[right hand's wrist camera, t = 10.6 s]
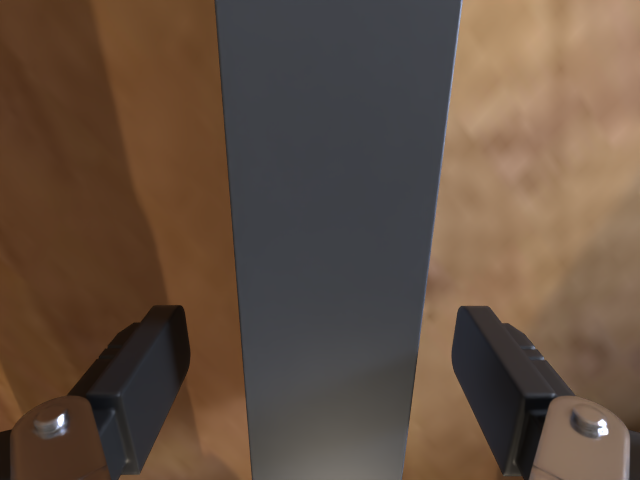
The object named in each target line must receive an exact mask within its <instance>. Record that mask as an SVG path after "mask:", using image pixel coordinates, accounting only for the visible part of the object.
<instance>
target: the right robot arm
mask: <svg viewBox="0 0 640 480" xmlns="http://www.w3.org/2000/svg"><path fill="white" fill-rule="evenodd" d="M189 364H190V345H189V338H188V331H187V325H186V318H185V312H184V309H183V307H182V306H181V305H155V306H153V307H152V308H151V309H150V311H149V312H148V313H147V315H146V316H145V317H144V319H143V320H142V321H141V323H133V324H131V325H130V326H128V327H127V328H125V329H124V330H122V331H121V332H119V333H118V334H117V335H116V336H115V338H114V339H113V340H112V341H111V342H110V344H109V345H108V348H106V349H105V350H104V351H103V352H102V353H101V355H100V356H99V359H96V361H95V362H94V363H93V364H92V366H91V367H90V368H89V369H88V370H87V372H86V373H85V374H84V375H83V376H82V378H81V379H80V380H79V381H78V383H77V384H76V385H75V386H74V387H73V389H72V390H71V391H70V392H69V393H68V395H67V396H63V397H59V398H55V399H52V400H49V401H47V402H44V403H42V404H40V405H38V406H36V407H35V408H33V409H32V410H30V411H29V412H28V413H26V414H25V415H24V416H23V417H22V418H21V419H19V421H18V422H17V423H16V424H15V426H14V427H13V429H11V430H7V431H3V432H0V480H118V479H119V477H120V475H139V474H140V472H141V470H142V468H143V466H144V464H145V461H146V459H147V457H148V455H149V453H150V451H151V449H152V447H153V444H154V442H155V440H156V438H157V436H158V434H159V432H160V429H161V427H162V425H163V423H164V421H165V419H166V417H167V414H168V412H169V410H170V408H171V406H172V404H173V402H174V399H175V397H176V395H177V393H178V391H179V389H180V387H181V384H182V382H183V380H184V378H185V376H186V374H187V371H188V368H189ZM452 365H453V369H454V372H455V375H456V377H457V379H458V381H459V383H460V385H461V387H462V389H463V391H464V394H465V396H466V398H467V400H468V402H469V404H470V406H471V408H472V410H473V413H474V415H475V417H476V419H477V421H478V423H479V425H480V427H481V429H482V432H483V434H484V436H485V438H486V440H487V442H488V444H489V446H490V449H491V451H492V453H493V455H494V457H495V459H496V461H497V463H498V465H499V468H500V470H501V472H502V474H503V476H523V478H524V480H640V433H639V432H634V431H631V430H628V429H627V427H626V426H625V424H624V423H623V422H622V421H621V419H619V418H618V417H617V416H616V415H615V414H614V413H612V412H611V411H610V410H608V409H607V408H605V407H604V406H602V405H600V404H598V403H596V402H593V401H591V400H588V399H585V398H581V397H577V396H575V394H574V393H573V392H572V391H571V390H570V388H569V387H568V386H567V385H566V384H565V382H564V381H563V380H562V379H561V377H560V376H559V375H558V374H557V373H556V371H555V370H554V369H553V368H552V367H551V365H550V364H549V363H548V362H547V361H546V360H544V357H543V356H542V355H541V353H540V352H539V351H538V350H537V349H535V346H534V345H533V344H532V343H531V341H530V340H529V339H528V338H527V337H526V335H525V334H523V333H522V332H520V331H519V330H517V329H516V328H514V327H513V326H511V325H510V324H508V323H501V321H500V320H499V319H498V318H497V316H496V315H495V314H494V312H493V311H492V310H491V308H490V307H488V306H461V307H460V308H459V309H458V313H457V319H456V326H455V332H454V339H453V346H452Z"/></svg>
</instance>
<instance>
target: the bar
mask: <svg viewBox="0 0 640 480" xmlns="http://www.w3.org/2000/svg"><path fill="white" fill-rule="evenodd" d="M462 1H463V0H215V12H216V25H217V38H218V51H219V64H220V76H221V89H222V102H223V115H224V127H225V140H226V153H227V166H228V178H229V191H230V204H231V217H232V229H233V242H234V255H235V268H236V280H237V293H238V306H239V319H240V332H241V344H242V357H243V370H244V383H245V395H246V408H247V421H248V434H249V446H250V459H251V472H252V480H402V474H403V466H404V458H405V450H406V443H407V435H408V427H409V419H410V411H411V403H412V395H413V387H414V380H415V372H416V364H417V356H418V348H419V340H420V332H421V324H422V316H423V309H424V301H425V293H426V285H427V277H428V269H429V261H430V253H431V245H432V238H433V230H434V222H435V214H436V206H437V198H438V190H439V182H440V175H441V167H442V159H443V151H444V143H445V135H446V127H447V119H448V111H449V104H450V96H451V88H452V80H453V72H454V64H455V56H456V48H457V41H458V33H459V25H460V17H461V9H462Z"/></svg>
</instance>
